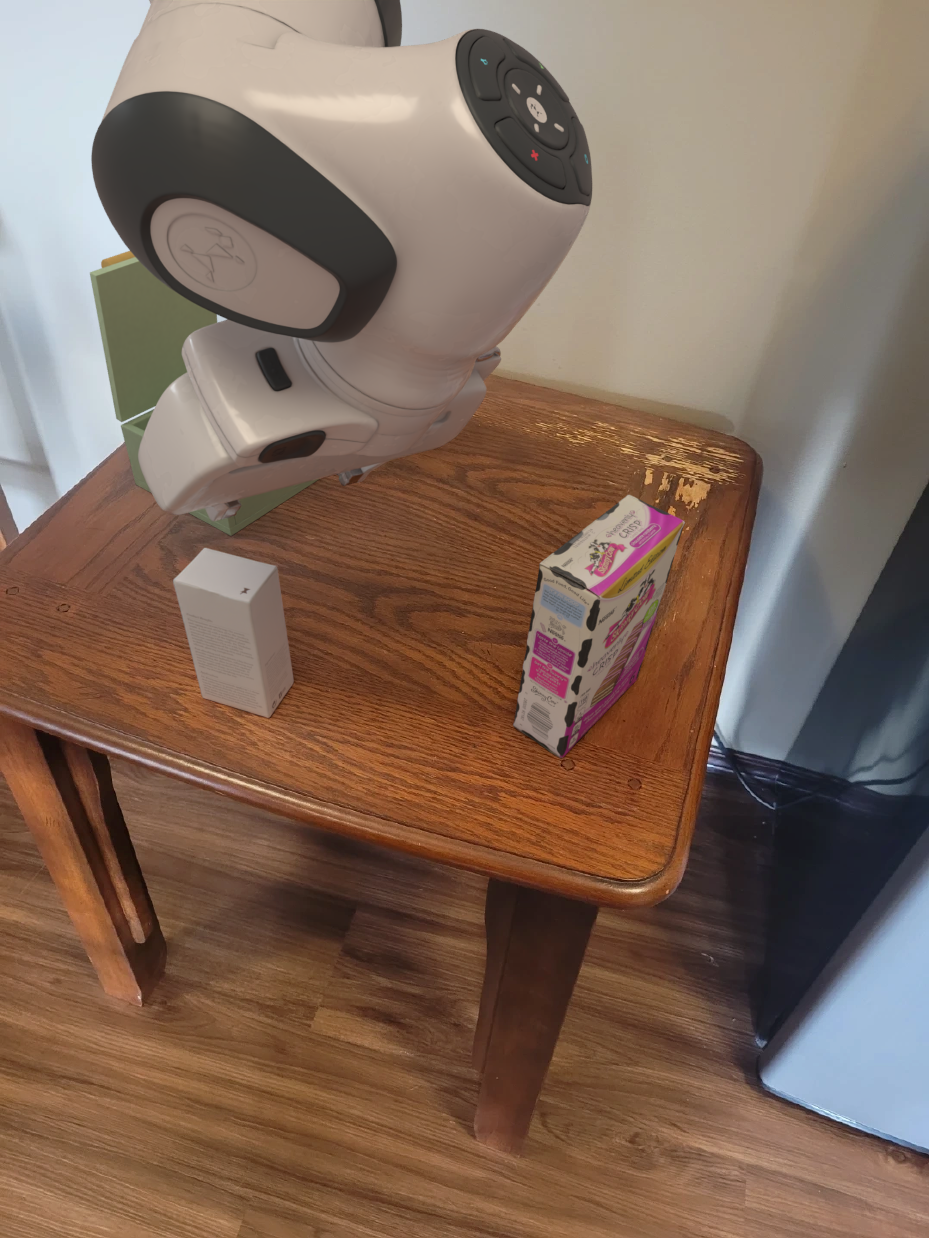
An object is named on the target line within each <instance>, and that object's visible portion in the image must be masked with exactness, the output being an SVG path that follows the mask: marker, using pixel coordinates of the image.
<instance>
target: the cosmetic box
mask: <svg viewBox="0 0 929 1238" xmlns="http://www.w3.org/2000/svg"><path fill="white" fill-rule="evenodd" d="M280 583H281V582H280V576H279V569H278V566H277V565H275V564H270V563H266V562H262V561H257V560H254V559H250V558H246V557H242V556H238V555H234V554H231V553H227V552H223V551H220V550H216V549H211V548H208V547H204V548H202V550H201V551H200V552H199V553H198V554H196V556H195V557H194V558H193V559H192V560H191V561H190V562H189V563H188V564H187V566H185V568H183V570H181V571H180V572H179V573H178V575H176V576H175V577H174V578H173V579H172V584H173V587H174V591H175V595H176V598H177V603H178V607H179V610H180V614H181V619H182V622H183V626H184V630H185V635H186V638H187V639H186V640H187V642H188V647H189V650H190V654H191V658H192V662H193V666H194V671H195V675H196V678H197V683H198V686H199V691H200V695H201V697H202V699H205V700H208V701H212V702H215V703H218V704H222V705H224V706H228V707H230V708H235V709H238V710H241V711H244V712H247V713H251V714H254V715H257V716H260V717H264V718H266V719H269V718H270V717H271V716H272V715H273V713H274V712H275V711H276V709H277V708H278V706H279V705H280V703H281V701H282V700H283V699H284V697H285V696H286V695H287V693H288V692H289V690H290V689H291V687H292V686H293V684H294V683H295V679H294V673H293V666H292V665H293V664H292V658H291V653H290V645H289V639H288V638H289V637H288V630H287V625H286V618H285V611H284V610H285V609H284V605H283V597H282V590H281V584H280Z"/></svg>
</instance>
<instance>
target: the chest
mask: <svg viewBox="0 0 929 1238" xmlns="http://www.w3.org/2000/svg"><path fill="white" fill-rule="evenodd" d="M154 409H155V408H152V409H151V410H148V411H147V412H145V413H143V414H139V415H137V416H135V417H133V418H131V419H129V420H128V421H127V422H126V421H125V422H123V423H122V424H120V429H121V433H122V437H123V440H124V441H123V442H124V444H125V445H124V446H125V449H126V451H127V457H128V461H129V463H130V467H131V472H132V475H133V479H134V483H135V485H136V486H137V487H140V488H142V489H143V490H145V491H147V492H149V493H151V491H150V489H149V487H148V485H147V482H146V480H145V478H144V475H143V473H142V470H141V468H140V464H139V460H138V453H139V448H140V444H141V441H142V438H143V435H144V432H145V429H146V427H147V424H148V422H149V420H150V417H151V415H152V413H153V411H154ZM319 480H320V479H316V480H312V481H308V482H304V483H300V484H296V485H293V486H289V487H285V488H281V489H277V490H273V491H269V492H266V493H262V494H258V495H254V496H250V497H246V498H242V499H239V501H240V503H241V507H240V509H239V510H238V511H237V512H236V513H237V514H236V515H235V516H232V517H229V518H225V519H222V520H217V521H214V522H213V521H211V519H210V518H209V516H208V514H207V512H206V509H205V508H204V509H200V510H196V511H192V512H189V513H188V514H189V515H191V516H194V517H195V518H197V519H198V520H200V521H202V522H204V523H206V524H208V525H210V526H212V527H214V528H215V529H217V530H219V531H221V532H223V533H225V534H227V535H228V536H231V537H232V536H234V535H235V534H237V533H238V532H239V531H241V530H243V529H244V528H246V527H248V526H249V525H251V524H252V523H254V522H255V521H257V520H258V519H260V518H261V517H263V516H265V515H266V514H267V513H269V512H270V511H273V510H274V509H276V508H277V507H278V506H280V505H282V504H283V503H285V502H286V501H288V500H289V499H291V498H293V497H294V496H296V495H297V494H299V493H300V492H302V491H303V490H305V489H307V488H308V487H309V486H311V485H313V484H314V483H316V482H317V481H319Z"/></svg>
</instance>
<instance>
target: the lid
mask: <svg viewBox="0 0 929 1238" xmlns="http://www.w3.org/2000/svg"><path fill="white" fill-rule="evenodd" d="M100 266H101V268H98V269H96V270H92V271H90V272H89V275H90V276H89V277H90V283H91V287H92V293H93V299H94V304H95V311H96V316H97V321H98V327H99V332H100V337H101V342H102V348H103V354H104V359H105V364H106V370H107V374H108V381H109V387H110V392H111V397H112V398H111V399H112V403H113V408H114V415H115V419H116V420H117V421H119V422H121V423H125V422H126V421H127V420H128V421H129V420H131V419H133V418H135V417H137V416H139V415H141V414H142V413H144V412H146V411H150V409H151V410H152V409H154V408H155V406H156V404H157V402H158V401H159V399H160V397H161V396H162V394H163V393H164V391H165V390H166V389H167V388H168V386H169V385H170V384H171V383H172V382H174V381H175V380H176V379H177V378H179V377H180V376H182V375H183V374H185V373H187V369H186V366H185V363H184V360H183V357H182V347H183V344H184V342H185V340H186V339H187V337H188V336H189V335H190V334H191V333H193V332H194V331H196V330H198V329H200V328H203V327H206V326H209V325H212V324H215V323H218V315H217V314H215V313H213V312H210V311H208V310H206V309H204V308H202V307H200V306H198V305H196V304H195V303H193V302H191V301H189V300H188V299H186V298H184V297H183V296H181V295H179V294H178V293H176V292H175V291H173V290H172V289H170V288H169V287H168V286H166V285H165V284H164V283H162V282H161V281H160V280H159V279H157V278H156V277H155V276H154V275H153V274H152V273H151V272H149V271H148V270H147V269H146V268H145V267H144V266H143V265H142V264H141V263H140V261H139V260H138V259H137V258H136V257H135V256H134V255H133V254H132V252H131V251H130V250H128V251H125V252H121V253H118V254H115V255H112V256H110V257H106V258H104V259H102V260H101V261H100Z"/></svg>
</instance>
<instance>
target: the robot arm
mask: <svg viewBox="0 0 929 1238" xmlns="http://www.w3.org/2000/svg"><path fill="white" fill-rule="evenodd" d="M148 1H149V4H150V5H149V8H148V11H147V12H146V15H145V18H144V21H143V23H142V25H141V28H140V30H139V33H138V35H137V36H136V38H135V39H134V40H133V42H132V43H131V46H130V48H129V50H128V52H127V54H126V57H125V59H124V62H123V64H122V66H121V69H120V72H119V74H118V77H117V79H116V82H115V84H114V87H113V90H112V92H111V96H110V97H109V100H108V102H107V105H106V107H105V110H104V113H103V116H102V119H101V122H100V123H99V126H98V127H97V130H96V132H95V135H94V137H93V142H92V145H91V156H90V157H91V159H90V160H91V171H92V178H93V182H94V183H93V184H94V187H95V189H96V193H97V196H98V198H99V201H100V203H101V205H102V208H103V211H104V212H105V214H106V216H107V218H108V220H109V222H110V224H111V225H112V227H113V229H114V230H115V232H116V233H117V235H118V236H119V238H120V239H121V241H122V242H123V244H124V245H125V247H126V248H127V249H128V251H131V252H132V254H133V255H134V256H135V257H136V258H137V259H138V260H139V261H140V263H141V264H142V265H143V266H144V267H145V268H146V269H147V270H148V271H149V272H151V273H152V274H153V275H154V276H155V277H156V278H157V279H159V280H160V281H161V282H162V283H164V284H165V285H166V286H168V287H169V288H170V289H172V290H173V291H175V292H176V293H178V294H179V295H181V296H183V297H184V298H186V299H188V300H189V301H191V302H193V303H195V304H196V305H198V306H200V307H202V308H204V309H206V310H208V311H210V312H213V313H215V314H217V316H219V317H221V318H224V319H225V320H221V321H219V322H218V321H217V323H215V324H212V325H209V326H206V327H203V328H200V329H198V330H196V331H194V332H193V333H191V334H190V335H189V336H188V337H187V339H186V340H185V342H184V344H183V347H182V357H183V360H184V363H185V366H186V369H187V373H185V374H183V375H182V376H180V377H179V378H177V379H176V380H175V381H174V382H172V383H171V384H170V385H169V386H168V388H167V389H166V390H165V391H164V393H163V394H162V396H161V397H160V399H159V401H158V402H157V404H156V406H155V407H154V408H153V409H154V411H153V413H152V415H151V417H150V420H149V422H148V424H147V427H146V429H145V432H144V435H143V438H142V441H141V444H140V448H139V453H138V460H139V464H140V468H141V470H142V473H143V475H144V478H145V480H146V482H147V485H148V487H149V489H150V491H151V492H150V493H151V494H152V496H153V498H154V500H155V502H156V504H157V506H158V507H159V508H160V509H161V510H162V511H164V512H166V513H167V514H170V515H173V516H182V515H185V514H189V512H192V511H196V510H200V509H204V508H205V509H206V512H207V514H208V516H209V518H210V519H211V521H213V522H214V521H217V520H222V519H225V518H229V517H232V516H235V515H236V514H237V513H236V512H237V511H238V510H239V509H240V507H241V503H240V501H239V499H242V498H246V497H250V496H254V495H258V494H262V493H266V492H269V491H273V490H277V489H281V488H285V487H289V486H293V485H296V484H300V483H304V482H308V481H312V480H316V479H319V480H320V479H323V478H328V477H331V476H335V475H336V476H338V482H339V484H340V485H341V486H342V487H346V486H350V485H354V484H358V483H361V482H364V480H366V478H367V477H368V475H369V474H370V473H371V472H373V471H374V470H376V469H378V468H381V466H383V465H385V464H386V463H388V462H390V461H392V460H396V459H400V458H404V457H408V456H412V455H417V454H420V453H424V452H427V451H431V450H436V449H438V448H440V447H443V446H445V445H446V444H448V443H450V442H451V441H453V440H454V439H455V438H457V436H459V434H461V432H462V431H463V430H464V428H465V427H466V425H468V423H469V422H470V421H471V419H472V418H473V417H474V415H475V414H476V413H477V412H478V409H480V406H481V405H482V403H483V402H484V400H485V398H486V395H487V391H488V390H487V386H486V384H485V380H487V378H489V377H490V375H491V374H492V373H493V372H494V370H495V369H497V367H498V366H499V365H500V364H501V362H502V356H501V355H502V352H501V348H500V347H498V345H499V344H501V343H502V342H503V341H504V340H505V339H506V337H507V336H508V335H509V334H510V333H511V332H512V331H513V330H514V328H516V326H518V323H519V322H521V320H522V319H523V317H524V316H525V315H526V314H527V312H528V311H529V310H530V309H531V307H532V306H533V305H534V304H535V302H536V301H537V299H538V298H539V297H540V296H541V294H542V293H543V291H544V290H545V288H546V287H547V286H548V285H549V283H550V281H551V280H552V279H553V277H554V276H555V274H556V273H557V272H558V270H559V269H560V267H561V265H562V264H563V262H564V261H565V259H566V258H567V256H568V255H569V253H570V250H571V249H572V248H573V246H574V244H575V243H576V241H577V239H578V237H579V235H580V233H581V231H582V229H583V228H584V225H585V223H586V220H587V218H588V215H589V212H590V209H591V205H592V199H593V172H592V168H593V167H592V157H591V151H590V147H589V141H588V139H587V135H586V131H585V128H584V125H583V124H582V123H581V121H580V119H579V117H578V114H577V112H576V110H575V109H574V107H573V105H572V104H571V102H570V97H569V96H568V95H567V93H566V92H565V90H564V89H563V87H562V86H561V85H560V83H559V82H558V81H557V80H556V78H555V77H554V75H553V74H552V73H551V72H550V71H549V70H548V68H547V67H546V66H545V65H544V64H543V63H542V62H541V61H540V60H539V59H538V58H536V57H535V56H534V54H532V53H530V51H528V50H527V49H525V48H524V46H521V45H519V44H518V43H516V42H515V41H513V40H512V39H510V38H508V37H507V36H505V35H503V34H501V33H498V32H497V31H493V30H490V29H485V28H472V29H467V30H464V31H461V32H459V33H457V34H455V35H452V36H449V37H447V38H445V39H442V40H438V41H435V42H429V43H423V44H411V45H409V44H408V45H402V37H403V36H402V35H403V34H402V33H403V12H402V5H401V0H148Z"/></svg>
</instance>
